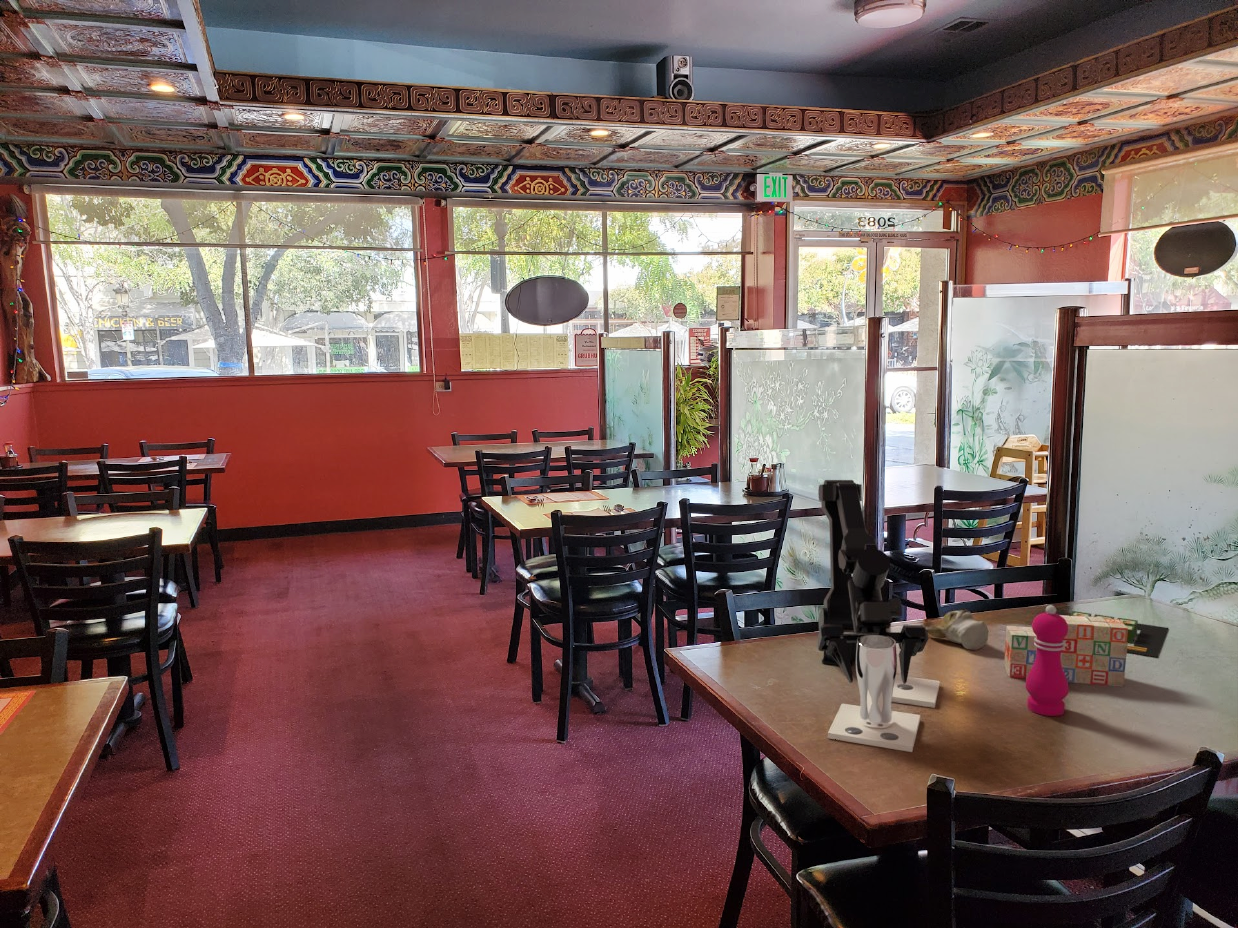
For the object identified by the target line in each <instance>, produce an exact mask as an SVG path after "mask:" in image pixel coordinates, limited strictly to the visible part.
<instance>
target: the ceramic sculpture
mask: <svg viewBox="0 0 1238 928" xmlns="http://www.w3.org/2000/svg"><path fill="white" fill-rule="evenodd" d="M923 626H924V627H925V628H926V630H927V632H928V635H931V636H932V637H935V638H938V639H946V640H948V641H949V642H952V643H955V644H959V645H960V644H961V645H962V647H964V648H965V649H966V650H971V651H977V650H979V649H982V648H983V647H984V646H985V645H986V644H987V642H988V639H989V632H990V631H989V629H988V624H987V623H986V622H985V621H984V620H982V621H981V620H980V621H979V620H978V621H977V620H976V619H975V618H974V616H973V614H972V613H971V611H969V610H967V609H966V608H965V607H960V608H959V609H958V610H953V611H949V612H947V613H946V614H945V615H944V616H943V617H942V621H941V623H940V625H935V624H934V625H931V626H925V625H923Z"/></svg>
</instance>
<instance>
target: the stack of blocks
mask: <svg viewBox="0 0 1238 928" xmlns="http://www.w3.org/2000/svg"><path fill="white" fill-rule="evenodd" d="M1060 616H1061V617H1063V618H1064V619H1065V620H1066V622H1067V624H1068V634H1067V635H1066V637H1064V638H1063V641H1064V649H1063V650H1061V665H1062V669H1063V672H1064V674H1065V676H1066V679H1067V682H1068V683H1078V684H1090V685H1098V686H1100V685H1102V686H1112V687H1125V676H1126V662H1127V654H1128V653H1127V645H1128V643H1127V634H1128V628H1127V627H1126V626H1125V625H1124V624H1123V623H1122V622H1121V621H1120V620H1119V619H1118V618H1117V619H1116V618H1114V619H1106V618H1102V617H1094V616H1092V617H1089V616H1087V617H1082V616H1064V615H1060ZM1005 629H1006V632H1005V644H1004V646H1005V648H1004V669H1005V671H1006V674H1007V675H1008V677H1009V678H1015V679H1016V678H1019V679H1025V680H1026V679H1027V676H1028V674H1029V672H1030V670H1031V668H1032V666H1033V664H1034V662H1035V659H1036V653H1037V650H1036V646H1035V645H1034V643H1035V640H1034V638H1035V637H1037V636H1036V635H1035V633H1034V632H1033V629H1032V626H1029V627H1028V626H1014V625H1006V628H1005Z"/></svg>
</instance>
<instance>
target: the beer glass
mask: <svg viewBox="0 0 1238 928" xmlns="http://www.w3.org/2000/svg"><path fill="white" fill-rule="evenodd" d="M897 669H898V655H897V643H896V641H895V640H894V639H892V638H890V637H888V636H884V635H876V634H871V635H864V636H861V637H859V638H858V639H857V650H856V662H855V671H856V679H857V686H858V690H859V699H860V703H859V706H860V710H859V715H858V720H859V722H860V723H861V724H863V725H864V726H867V727H870V728H877V729H881V728H887V727H890V726H891V725H892V724H893V722H894V719H893V713H892V711H893V709H892V708H893V707H892V703H893V702H892V695H893V690H894V685H895V680H896V675H897V671H898V670H897Z"/></svg>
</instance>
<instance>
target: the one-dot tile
mask: <svg viewBox="0 0 1238 928" xmlns="http://www.w3.org/2000/svg"><path fill="white" fill-rule="evenodd" d="M940 684H941V683H940V681H939V680H933V679H927V678H919V677H913V676H911V677H910V676H908V677H907V682H906V684H903V681H902V678H901V675H897V674H896V680H895V685H894V690H893V695H892V703H899V704H906V705H913V706H920V707H925V708H927V707H928V708H933V709H935V708H936V705H937V700H938V699H937V698H938V695H939V690H940Z"/></svg>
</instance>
